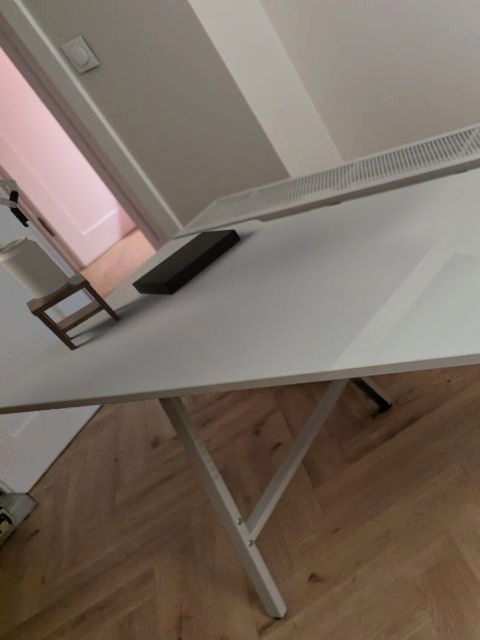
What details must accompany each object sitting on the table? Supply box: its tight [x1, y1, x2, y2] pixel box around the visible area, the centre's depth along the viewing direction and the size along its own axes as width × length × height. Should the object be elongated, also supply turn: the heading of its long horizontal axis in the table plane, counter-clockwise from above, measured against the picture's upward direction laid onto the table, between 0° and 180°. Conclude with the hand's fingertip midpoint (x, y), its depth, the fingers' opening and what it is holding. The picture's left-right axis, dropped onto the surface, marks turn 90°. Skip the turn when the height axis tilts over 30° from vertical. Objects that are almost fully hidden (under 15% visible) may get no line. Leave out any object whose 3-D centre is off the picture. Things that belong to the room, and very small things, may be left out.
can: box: [0, 236, 70, 300], centre depth 113 cm, size 8×8×12 cm
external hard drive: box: [131, 228, 242, 296], centre depth 133 cm, size 14×23×3 cm, turn 153°
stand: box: [25, 272, 122, 351], centre depth 119 cm, size 12×9×11 cm
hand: (2, 238), depth 108 cm, fingers open, 9 cm apart
